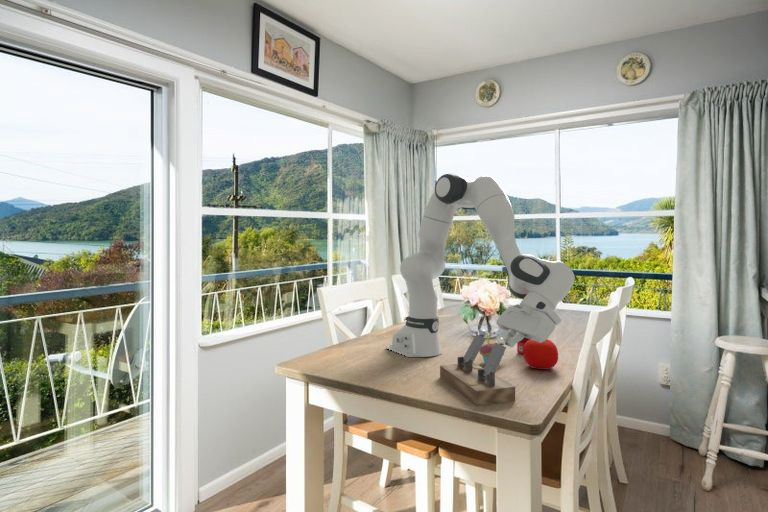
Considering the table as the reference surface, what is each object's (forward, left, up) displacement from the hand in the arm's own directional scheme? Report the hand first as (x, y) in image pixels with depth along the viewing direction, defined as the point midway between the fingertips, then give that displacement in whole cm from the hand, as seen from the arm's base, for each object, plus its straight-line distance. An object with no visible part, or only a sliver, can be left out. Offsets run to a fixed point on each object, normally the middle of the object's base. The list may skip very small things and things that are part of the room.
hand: (507, 344), depth 127 cm
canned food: (-14, +45, -15) cm, 49 cm away
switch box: (-9, -2, -14) cm, 17 cm away
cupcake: (-18, +24, -15) cm, 33 cm away
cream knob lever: (-4, -6, -9) cm, 12 cm away
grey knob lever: (-15, +1, -9) cm, 18 cm away
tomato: (-3, +31, -15) cm, 34 cm away
